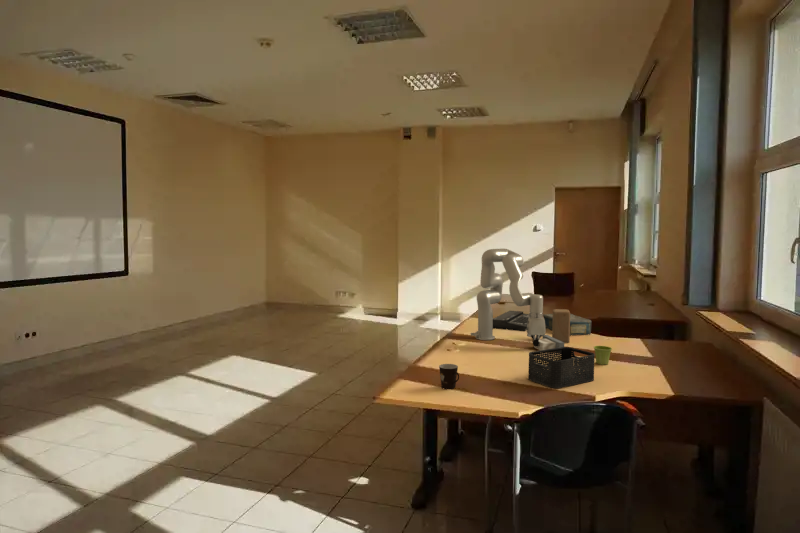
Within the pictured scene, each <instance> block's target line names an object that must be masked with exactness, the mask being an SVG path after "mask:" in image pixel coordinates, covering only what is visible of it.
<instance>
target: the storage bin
mask: <svg viewBox="0 0 800 533" xmlns="http://www.w3.org/2000/svg"><path fill="white" fill-rule="evenodd" d="M557 351H558V352H557ZM575 353H579V354H582V355H583V356H577V355H575ZM584 355H585V356H584ZM595 358H596V356H595V352H592V351H591V352H590V351H586V350H581V349H579V348H574V347H571V346H569V347H568V346H564V347H560V348H553V349H547V350H541V351H540V350H535V351H530V352H528V378H527V379H528V380H529V381H530V380H531V381H530V382H534V383H537V384H539V385H543V386H545V387H547V388H554V389H561V388H566V387H571V386H577V385H581V384H585V383H591V382H594V381H595Z"/></svg>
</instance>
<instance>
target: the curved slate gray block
mask: <svg viewBox="0 0 800 533" xmlns="http://www.w3.org/2000/svg"><path fill="white" fill-rule="evenodd" d="M541 339H548V340H551V341H553V342H555V343H556V348H560V347H565V343H564V342H562V341H560V340H557V339H555V338H553V337H552V335H551V336H550V335H548V334H545V336H542V337H541ZM557 352H558V351H557Z"/></svg>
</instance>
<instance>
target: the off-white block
mask: <svg viewBox="0 0 800 533" xmlns="http://www.w3.org/2000/svg"><path fill="white" fill-rule="evenodd" d="M533 347H534V349H537V351H541V350H547V349H553V348H556V343H555V342H553V341H551V340H548V339H542V338H540V339H539V344H538V346H536V347H535V346H534V345H533Z"/></svg>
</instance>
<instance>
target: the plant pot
mask: <svg viewBox="0 0 800 533" xmlns="http://www.w3.org/2000/svg"><path fill="white" fill-rule="evenodd" d="M593 349H594V354H595V362H596V364H598V365H602V366H604V365H608V364H609V362H610V356H611V352H612V350H613V347H612V346H611V347H610V346H606V345H595V346H593Z"/></svg>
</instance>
